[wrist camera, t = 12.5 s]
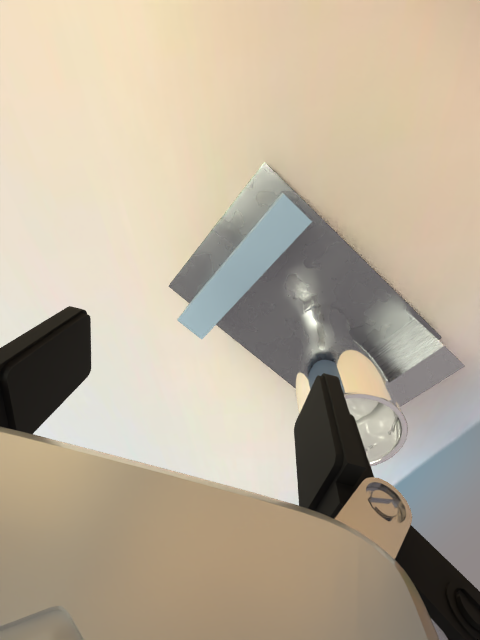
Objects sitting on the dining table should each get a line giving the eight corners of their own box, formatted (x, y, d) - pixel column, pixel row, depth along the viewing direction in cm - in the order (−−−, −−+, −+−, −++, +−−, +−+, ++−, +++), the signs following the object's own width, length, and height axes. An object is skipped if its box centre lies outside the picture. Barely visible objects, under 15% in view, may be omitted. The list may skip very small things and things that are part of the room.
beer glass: (282, 347, 34) (286, 455, 20) (302, 294, 31) (321, 379, 17) (339, 363, 34) (381, 481, 20) (364, 311, 31) (433, 409, 17)
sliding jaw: (192, 299, 32) (177, 320, 27) (282, 192, 26) (284, 193, 21) (213, 315, 33) (201, 339, 28) (305, 215, 27) (312, 221, 22)
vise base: (172, 282, 33) (146, 306, 27) (265, 163, 27) (261, 154, 20) (327, 407, 38) (337, 453, 32) (434, 331, 32) (476, 369, 25)
